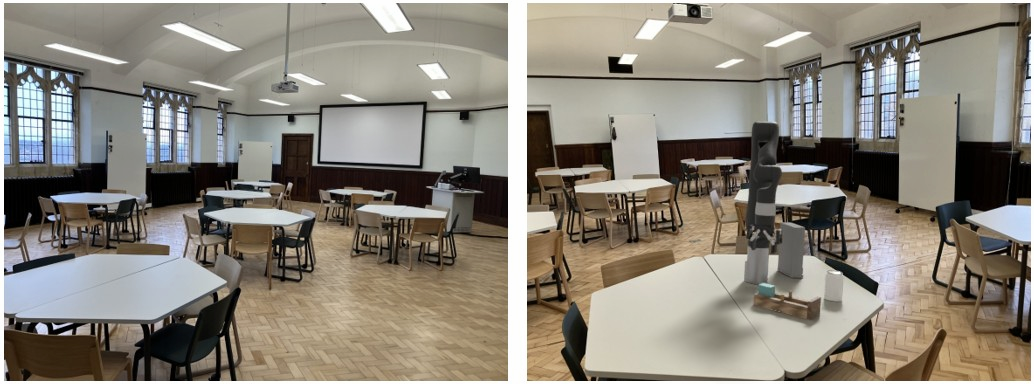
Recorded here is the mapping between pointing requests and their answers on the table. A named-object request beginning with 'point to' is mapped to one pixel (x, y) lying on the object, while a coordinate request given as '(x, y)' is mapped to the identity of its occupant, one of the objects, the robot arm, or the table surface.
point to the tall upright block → (791, 250)
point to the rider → (766, 290)
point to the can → (833, 286)
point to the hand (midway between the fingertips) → (763, 251)
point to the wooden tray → (790, 305)
